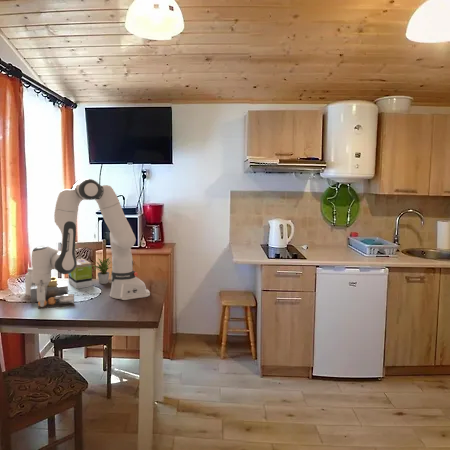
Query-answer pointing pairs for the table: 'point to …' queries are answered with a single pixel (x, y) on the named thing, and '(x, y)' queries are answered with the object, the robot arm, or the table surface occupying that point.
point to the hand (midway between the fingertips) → (42, 304)
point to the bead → (51, 301)
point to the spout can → (65, 299)
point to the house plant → (103, 271)
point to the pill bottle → (28, 281)
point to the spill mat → (55, 305)
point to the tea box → (81, 274)
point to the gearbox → (51, 289)
